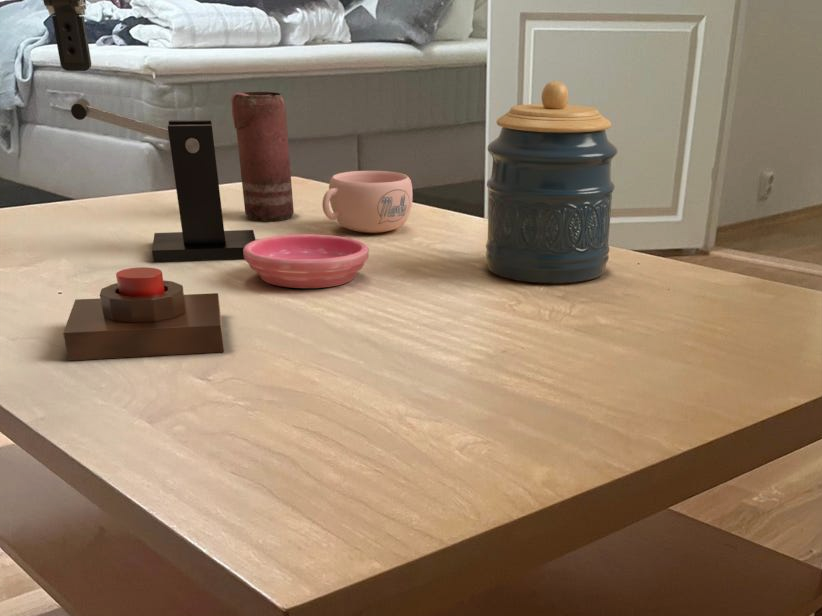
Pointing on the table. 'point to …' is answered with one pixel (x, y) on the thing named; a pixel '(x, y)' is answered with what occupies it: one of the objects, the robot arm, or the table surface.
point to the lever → (117, 119)
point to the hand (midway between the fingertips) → (77, 69)
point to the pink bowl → (306, 260)
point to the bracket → (197, 201)
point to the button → (140, 282)
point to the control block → (144, 324)
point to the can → (263, 155)
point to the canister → (550, 192)
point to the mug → (369, 200)
